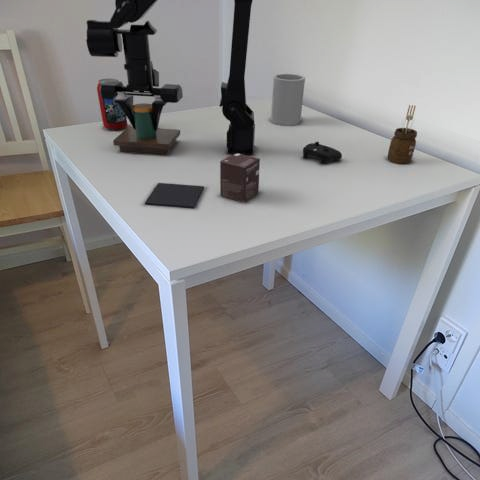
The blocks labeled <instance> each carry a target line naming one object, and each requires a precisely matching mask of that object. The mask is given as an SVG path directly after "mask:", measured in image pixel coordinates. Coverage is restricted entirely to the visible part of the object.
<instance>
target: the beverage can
mask: <svg viewBox="0 0 480 480" xmlns="http://www.w3.org/2000/svg"><path fill="white" fill-rule="evenodd" d="M97 81H98V82H97V86H96V91H97V97H98V102H99V109H100V116H101V120H102V126H103V127H104V128H106V130H107V129H108V130H110V131H121V130H123V129H126V128H127V126H128V118H127V116H126V114H125V113H124V111H123V110H122V108H121V107H120V106H119V104H118V103H115V102H114V100H116V99H115V97H114V99H102V98H101V96H100V86H101V85H102V84H104V83H106V82H107V81H118V82H120V81H119V79H117V78H101V79H99V80H97Z"/></svg>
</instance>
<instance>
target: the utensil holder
mask: <svg viewBox="0 0 480 480" xmlns="http://www.w3.org/2000/svg"><path fill="white" fill-rule="evenodd" d="M415 111H416V105H413V104H412V105H411V104H409V105H408V108H407V112H406V116H405V117H404V118H403V121H402V125H401V126H402V127H398V128H396V129H395V131H394V133H393V134H394V136H393V137H392V138H391V140H390V144H389V147H388V151H387V160H388V161H389V162H392V163H394V164H400V165H401V164H403V165H404V164H408V163H410V162H411V161H412V159H413V156H414V153H415V149H416V145H417V140H416V138H417V137H418V131H417V130H415V129H413V124H414V115H415ZM406 121H407V123H406ZM410 121H411V124H410V126H409V123H410ZM405 123H406V127H405V126H404V125H405Z"/></svg>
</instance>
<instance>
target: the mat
mask: <svg viewBox="0 0 480 480" xmlns="http://www.w3.org/2000/svg"><path fill="white" fill-rule="evenodd" d="M204 188H205V187H204V186H203V185H192V184H191V185H190V184H177V183H168V182H167V183H166V182H165V183H164V182H158V183H157V185H155V187H154V188H153V190H152V191H151V193H150V194H149V196H148V197H147V199H145V201H144V205H147V206H158V207H159V206H162V207H170V208H171V207H174V208H184V209H185V208H186V209H195V208H196V205H197V204H198V202H199V199H200V197H201V195H202V193H203V191H204Z"/></svg>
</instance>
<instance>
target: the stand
mask: <svg viewBox="0 0 480 480" xmlns="http://www.w3.org/2000/svg"><path fill="white" fill-rule="evenodd" d="M156 135H157V136H156V137H155V138H152V139H140V138H137V136H136V130H134V128H133V126H132V125H131V126H130V125H129V126H128V127H126V128H124V130H123V131H122V132H121V133H120V134H119V135H117V136H116V138H114V139H113V140H112V142H113V146H115V147H116V146H117V147H119V152H120V153H132V154H144V155H145V154H148V155H160V156H161V155H163V156H168V154H169V152H170V151H171V150H172V149H173V147H174V146H175V145H176V143H177V139H178V138H179V137H180V135H181V129H176V128H161V127H160V128H159V127H158V129H157V131H156Z"/></svg>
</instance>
